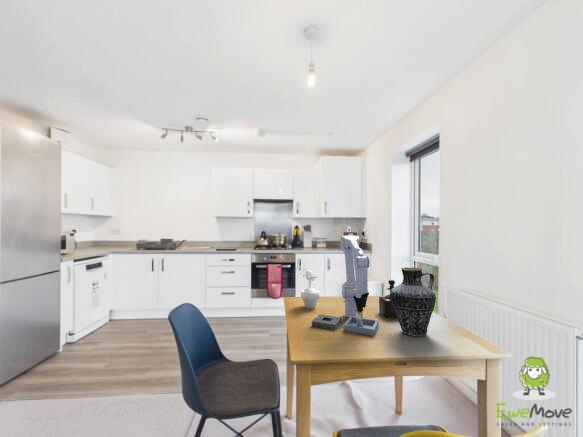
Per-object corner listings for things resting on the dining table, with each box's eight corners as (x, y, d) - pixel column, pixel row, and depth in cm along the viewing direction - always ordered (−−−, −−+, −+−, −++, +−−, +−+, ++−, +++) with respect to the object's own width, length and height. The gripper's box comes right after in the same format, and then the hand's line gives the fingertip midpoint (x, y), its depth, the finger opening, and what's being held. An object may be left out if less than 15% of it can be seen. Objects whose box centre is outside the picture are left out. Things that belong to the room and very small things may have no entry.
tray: (350, 322, 150) (350, 316, 150) (378, 326, 144) (378, 320, 144) (343, 331, 137) (343, 325, 137) (374, 336, 131) (374, 329, 131)
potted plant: (298, 305, 180) (298, 264, 181) (315, 303, 184) (315, 264, 184) (305, 311, 168) (305, 267, 169) (323, 309, 172) (323, 267, 172)
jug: (408, 343, 123) (407, 272, 124) (382, 327, 142) (381, 266, 143) (448, 338, 129) (447, 270, 129) (418, 323, 148) (417, 264, 148)
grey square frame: (319, 319, 155) (319, 314, 155) (341, 322, 150) (341, 317, 150) (311, 326, 144) (311, 321, 144) (335, 330, 139) (335, 324, 139)
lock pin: (356, 325, 144) (355, 307, 144) (364, 326, 142) (363, 308, 142) (354, 328, 140) (353, 309, 140) (363, 329, 138) (362, 310, 138)
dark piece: (405, 318, 156) (405, 284, 156) (385, 318, 156) (385, 284, 156) (394, 309, 172) (393, 279, 172) (375, 309, 171) (375, 279, 171)
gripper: (356, 277, 149) (356, 304, 149) (349, 283, 136) (349, 312, 136) (370, 278, 146) (370, 306, 146) (365, 284, 133) (365, 314, 133)
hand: (361, 309), depth 141 cm, fingers open, 7 cm apart
